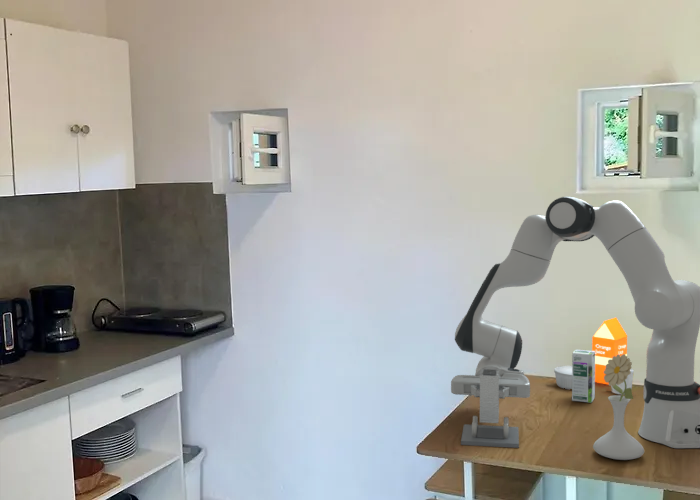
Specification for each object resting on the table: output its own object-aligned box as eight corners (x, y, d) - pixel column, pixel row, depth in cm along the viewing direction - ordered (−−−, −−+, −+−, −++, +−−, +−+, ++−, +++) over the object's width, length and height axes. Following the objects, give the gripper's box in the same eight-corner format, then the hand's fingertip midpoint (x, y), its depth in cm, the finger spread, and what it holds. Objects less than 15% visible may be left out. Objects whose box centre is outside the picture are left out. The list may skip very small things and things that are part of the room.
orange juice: (591, 381, 248) (592, 319, 246) (604, 376, 254) (605, 316, 252) (614, 385, 242) (615, 322, 240) (627, 380, 248) (628, 318, 247)
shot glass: (630, 396, 230) (631, 373, 230) (607, 393, 234) (607, 370, 233) (635, 390, 236) (635, 368, 235) (612, 387, 240) (612, 365, 239)
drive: (498, 415, 198) (499, 369, 197) (498, 423, 192) (498, 375, 191) (480, 414, 199) (480, 368, 198) (479, 422, 193) (480, 374, 192)
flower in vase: (587, 447, 188) (588, 346, 186) (635, 447, 187) (637, 345, 185) (601, 467, 175) (603, 358, 173) (653, 467, 174) (655, 358, 172)
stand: (518, 430, 201) (518, 413, 200) (518, 447, 188) (518, 429, 188) (464, 428, 204) (464, 411, 203) (460, 444, 191) (460, 427, 191)
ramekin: (586, 392, 235) (586, 375, 235) (549, 388, 241) (549, 371, 240) (594, 384, 245) (594, 367, 244) (559, 380, 250) (559, 364, 250)
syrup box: (571, 401, 226) (571, 352, 225) (575, 396, 232) (576, 348, 230) (591, 403, 224) (592, 354, 222) (595, 398, 229) (595, 350, 228)
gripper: (452, 367, 209) (447, 380, 196) (529, 370, 205) (530, 384, 192) (452, 390, 210) (447, 405, 197) (529, 393, 206) (530, 409, 192)
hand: (489, 394), depth 194 cm, fingers closed on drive, 5 cm apart
